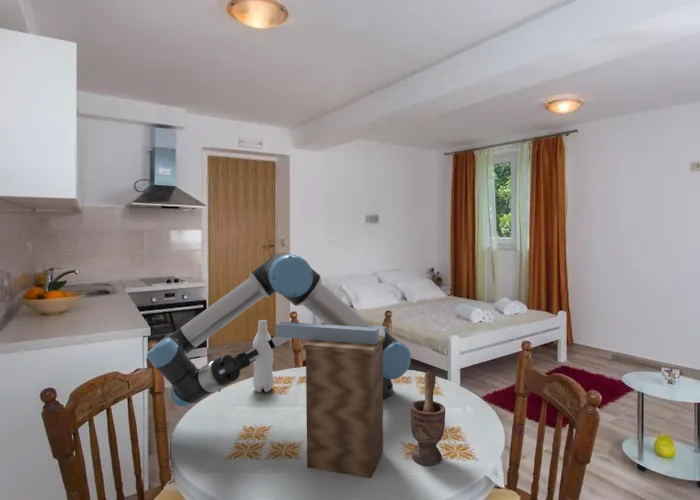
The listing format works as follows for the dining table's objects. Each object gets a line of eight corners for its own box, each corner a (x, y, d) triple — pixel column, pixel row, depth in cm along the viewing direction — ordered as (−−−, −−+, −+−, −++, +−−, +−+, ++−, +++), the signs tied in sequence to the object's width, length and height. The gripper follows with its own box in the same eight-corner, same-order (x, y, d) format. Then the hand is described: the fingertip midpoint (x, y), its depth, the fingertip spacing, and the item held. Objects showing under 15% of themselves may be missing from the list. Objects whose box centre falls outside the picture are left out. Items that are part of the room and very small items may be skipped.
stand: (304, 468, 103) (303, 344, 102) (323, 442, 115) (322, 332, 114) (373, 479, 98) (372, 350, 97) (385, 451, 111) (385, 336, 109)
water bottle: (269, 394, 150) (268, 323, 148) (249, 392, 151) (248, 322, 150) (276, 387, 157) (275, 319, 155) (258, 385, 158) (257, 318, 157)
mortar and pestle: (404, 443, 115) (404, 370, 114) (436, 442, 115) (436, 369, 114) (414, 467, 103) (414, 385, 102) (449, 466, 104) (449, 384, 103)
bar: (276, 336, 109) (276, 324, 109) (281, 333, 112) (281, 321, 112) (375, 344, 102) (375, 331, 101) (378, 341, 105) (378, 328, 104)
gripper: (250, 370, 127) (307, 339, 121) (197, 403, 104) (264, 366, 98) (239, 348, 128) (294, 315, 122) (183, 375, 104) (249, 337, 98)
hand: (281, 338), depth 110 cm, fingers open, 13 cm apart
